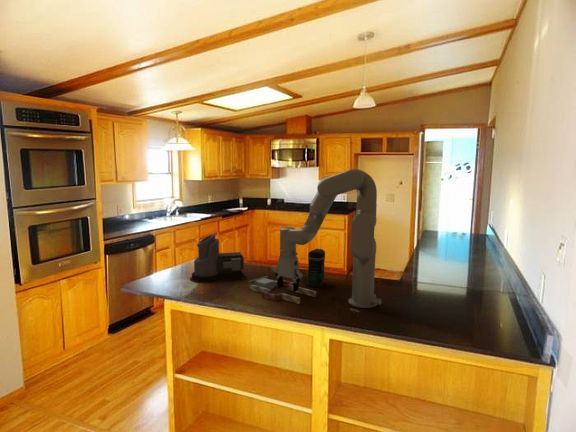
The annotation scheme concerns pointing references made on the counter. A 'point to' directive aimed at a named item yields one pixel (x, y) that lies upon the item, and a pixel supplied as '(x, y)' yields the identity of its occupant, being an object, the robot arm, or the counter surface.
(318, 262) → the coffee jar
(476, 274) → the counter surface
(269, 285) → the gray block
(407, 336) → the counter surface
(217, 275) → the juicer
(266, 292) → the trap channel
